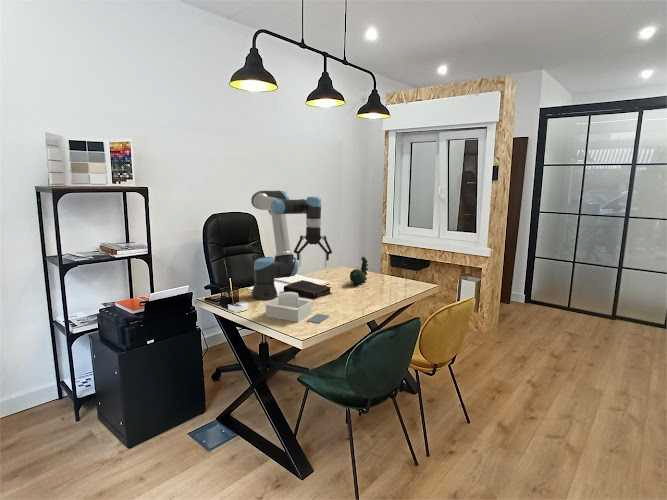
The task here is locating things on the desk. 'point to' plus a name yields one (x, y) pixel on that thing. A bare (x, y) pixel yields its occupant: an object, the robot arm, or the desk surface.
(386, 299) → the desk surface
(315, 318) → the mat
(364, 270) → the toy figurine
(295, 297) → the photo printer
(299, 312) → the carton
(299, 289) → the diary
